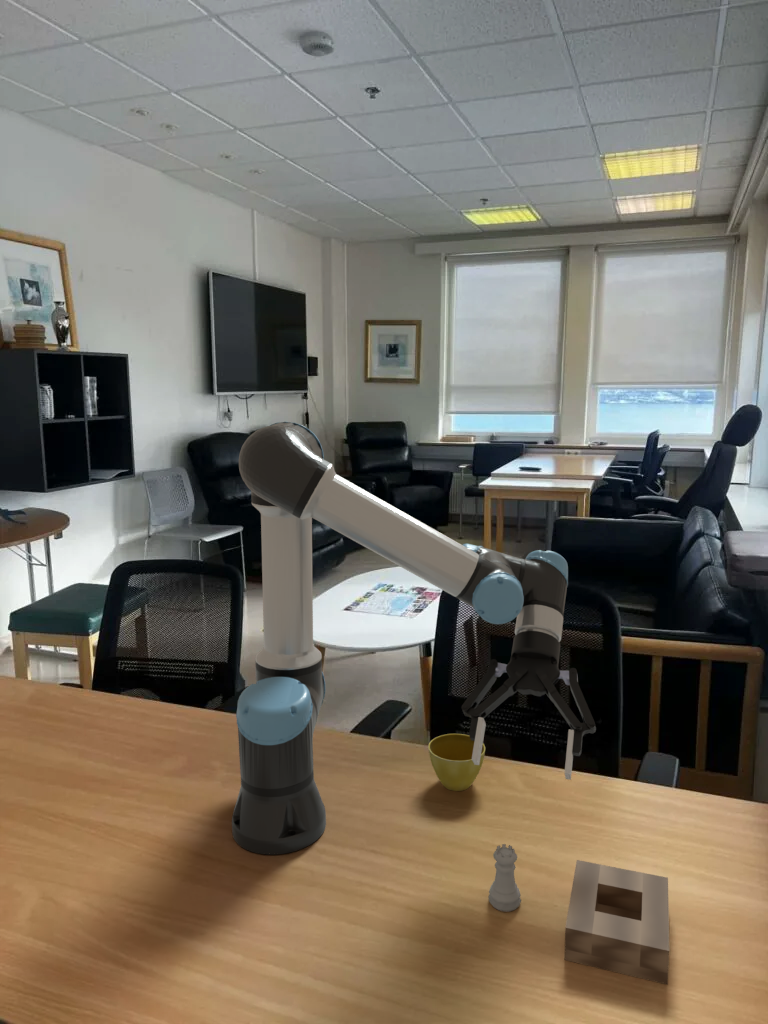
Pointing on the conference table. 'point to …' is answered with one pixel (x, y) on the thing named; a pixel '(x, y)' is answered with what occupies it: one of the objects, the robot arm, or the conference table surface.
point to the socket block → (619, 921)
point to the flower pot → (454, 760)
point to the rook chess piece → (504, 881)
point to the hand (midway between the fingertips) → (520, 769)
